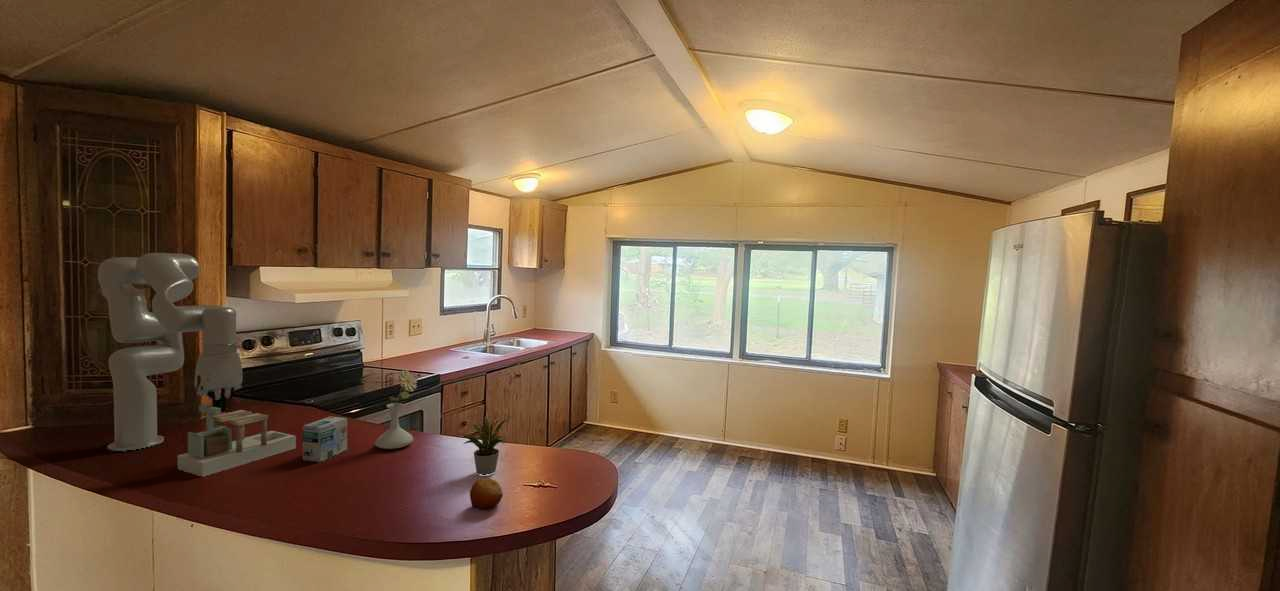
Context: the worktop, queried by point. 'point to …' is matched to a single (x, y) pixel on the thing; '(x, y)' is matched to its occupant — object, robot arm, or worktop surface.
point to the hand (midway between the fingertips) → (220, 411)
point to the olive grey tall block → (207, 432)
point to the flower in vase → (395, 434)
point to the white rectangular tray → (238, 454)
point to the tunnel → (239, 420)
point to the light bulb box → (324, 438)
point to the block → (215, 444)
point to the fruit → (485, 494)
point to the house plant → (486, 447)
